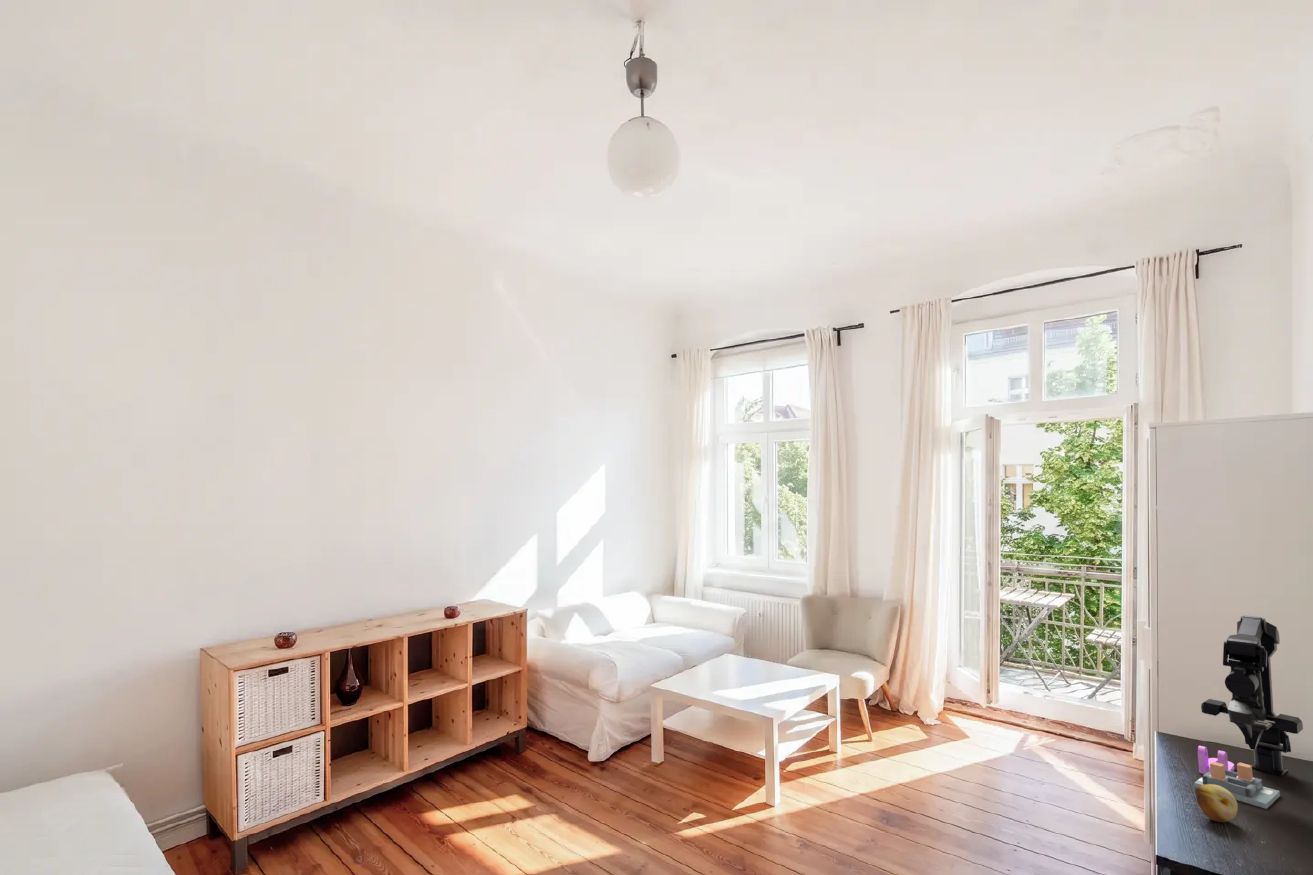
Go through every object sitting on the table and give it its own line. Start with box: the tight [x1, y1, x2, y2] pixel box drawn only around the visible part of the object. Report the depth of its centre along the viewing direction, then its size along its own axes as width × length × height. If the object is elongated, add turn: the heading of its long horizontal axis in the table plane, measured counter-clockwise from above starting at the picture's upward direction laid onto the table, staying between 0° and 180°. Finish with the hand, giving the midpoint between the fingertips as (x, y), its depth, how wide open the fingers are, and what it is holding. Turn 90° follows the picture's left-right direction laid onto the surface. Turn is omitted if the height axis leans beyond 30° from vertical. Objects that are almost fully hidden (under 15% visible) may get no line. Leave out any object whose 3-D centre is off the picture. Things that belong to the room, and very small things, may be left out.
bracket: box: [1197, 745, 1235, 775], centre depth 177 cm, size 13×6×7 cm, turn 128°
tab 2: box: [1236, 762, 1256, 782], centre depth 164 cm, size 3×3×5 cm
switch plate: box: [1194, 770, 1281, 810], centre depth 164 cm, size 12×14×3 cm
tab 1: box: [1209, 762, 1228, 782], centre depth 165 cm, size 3×3×5 cm
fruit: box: [1194, 784, 1239, 823], centre depth 149 cm, size 8×8×8 cm
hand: (1253, 749), depth 164 cm, fingers closed
